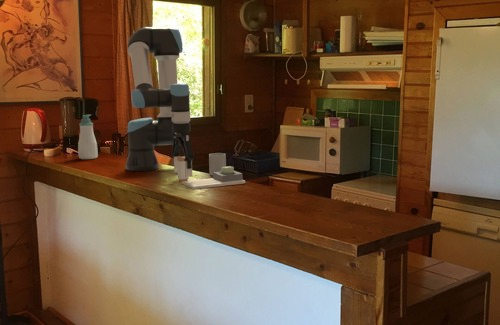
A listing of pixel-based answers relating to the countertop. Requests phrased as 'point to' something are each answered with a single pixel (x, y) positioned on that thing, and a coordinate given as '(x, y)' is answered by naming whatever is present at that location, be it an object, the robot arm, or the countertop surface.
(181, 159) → the grey and orange block
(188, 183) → the board
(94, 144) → the soap bottle
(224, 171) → the button
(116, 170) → the countertop surface
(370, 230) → the countertop surface
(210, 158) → the cup
